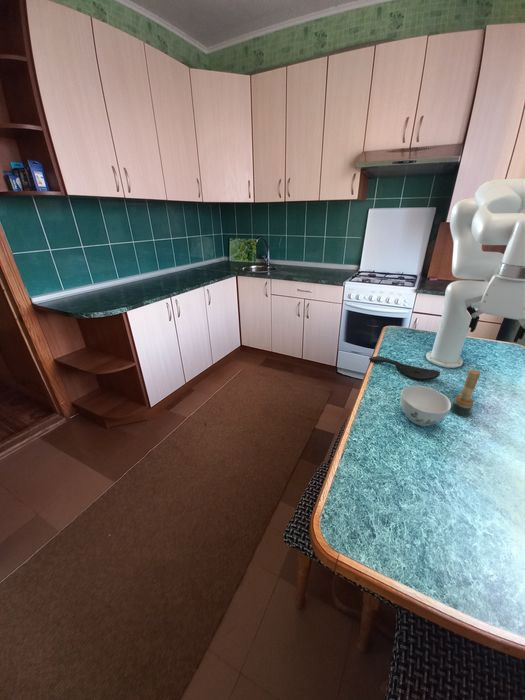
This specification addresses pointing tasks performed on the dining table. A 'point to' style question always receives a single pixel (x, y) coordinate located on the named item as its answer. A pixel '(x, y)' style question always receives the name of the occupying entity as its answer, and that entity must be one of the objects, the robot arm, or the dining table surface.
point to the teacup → (424, 405)
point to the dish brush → (466, 395)
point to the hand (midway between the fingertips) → (493, 335)
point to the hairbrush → (410, 369)
